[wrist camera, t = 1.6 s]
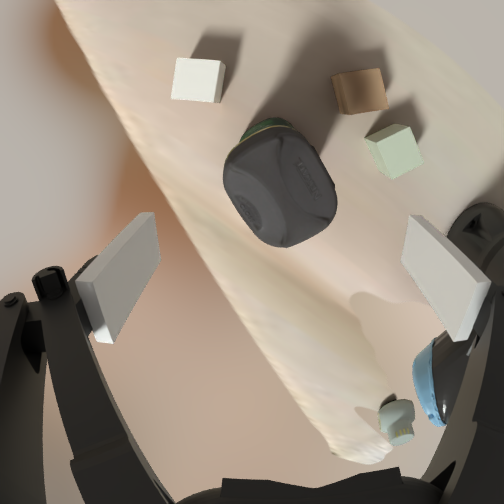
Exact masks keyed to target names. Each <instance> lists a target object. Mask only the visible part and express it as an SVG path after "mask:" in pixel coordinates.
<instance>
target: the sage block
mask: <svg viewBox="0 0 504 504" xmlns="http://www.w3.org/2000/svg"><path fill="white" fill-rule="evenodd" d="M364 139H365V141H366V143H367V146H368V148H369V150H370V152H371V154H372V156H373V159H374V161H375V163H376V165H377V168H378V170H379V171H380V172H381V173H383V174H384V175H386V176H387V177H389V178H390V179H392V180H393V179H395V178H396V177H398V176H400V175H402V174H404V173H406V172H408V171H410V170H412V169H414V168H416V167H418V166H420V165H422V164H424V161H423V159H422V156H421V153H420V151H419V148H418V146H417V143H416V140H415V138H414V136H413V133H412V131H411V128H410V127H409V126H405V125H400V124H395V123H394V124H392V125H390V126H388V127H386V128H384V129H382V130H380V131H378V132H376V133H374V134H372V135H369V136H367V137H365V138H364Z"/></svg>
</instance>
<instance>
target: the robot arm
mask: <svg viewBox="0 0 504 504" xmlns="http://www.w3.org/2000/svg"><path fill="white" fill-rule="evenodd" d="M160 261H161V257H160V250H159V244H158V237H157V230H156V223H155V216H154V212H145V213H140V214H139V215H138V216H137V217H135V219H133V221H132V222H130V223H129V224H128V225H127V226H126V227H125V228H124V229H123V230H122V231H121V232H120V233H119V234H118V235H117V236H116V237H115V239H113V240H112V242H111V243H110V244H109V245H108V246H107V247H106V248H105V249H104V250H103V251H102V252H101V253H100V254H99V255H96V256H95V257H93V258H91V259H90V260H88V261H87V262H86V263H85V264H84V265H83V266H82V268H80V269H79V270H78V272H77V273H76V274H75V275H74V276H73V277H72V278H71V279H70V280H69V281H68V282H67V279H66V276H65V273H64V269H63V268H62V267H59V266H51V267H48V268H45V269H42V270H41V271H39V272H38V273H36V274H35V275H34V276H33V278H32V283H33V286H34V288H35V291H36V294H37V296H38V299H39V301H36V302H30V303H27V301H26V298H25V296H24V294H23V293H21V292H14V293H10V294H8V295H6V296H5V297H4V298H3V299H2V300H1V301H0V504H46V495H45V485H44V471H43V447H42V446H43V443H42V432H43V431H42V430H43V429H42V426H43V401H44V386H45V385H44V384H45V374H46V365H47V359H48V364H49V369H50V374H51V379H52V383H53V388H54V392H55V395H56V400H57V403H58V407H59V411H60V414H61V418H62V421H63V424H64V428H65V431H66V434H67V437H68V440H69V443H70V446H71V449H72V452H73V455H74V459H73V460H70V466H71V470H72V473H73V476H74V478H75V481H76V483H77V486H78V488H79V490H80V493H81V495H82V498H83V500H84V502H85V504H504V211H503V210H502V209H500V208H498V207H497V206H495V205H493V204H490V203H480V204H476V205H474V206H472V207H470V208H468V209H467V210H466V211H465V212H463V213H462V214H461V215H460V216H459V218H458V219H457V220H456V221H455V223H454V224H453V226H452V228H451V229H450V231H449V234H448V236H447V237H445V236H444V235H443V234H442V233H441V232H440V231H439V230H438V229H437V228H435V227H434V226H433V225H432V224H431V223H430V222H429V221H427V220H426V219H425V218H424V217H423V216H422V215H409V221H408V226H407V232H406V237H405V242H404V247H403V252H402V257H401V261H400V262H401V263H402V264H403V266H404V267H405V269H406V270H407V271H408V273H409V274H410V276H411V277H412V279H413V280H414V281H415V283H416V284H417V286H418V287H419V289H420V290H421V292H422V293H423V295H424V296H425V298H426V299H427V301H428V302H429V304H430V305H431V307H432V308H433V310H434V311H435V313H436V314H437V316H438V318H439V319H440V321H441V322H442V324H443V325H444V327H445V329H446V330H445V331H444V332H443V333H442V334H441V335H439V336H438V337H436V338H434V339H433V340H432V342H431V343H430V344H429V345H428V346H427V347H426V348H425V349H424V350H422V351H421V352H420V353H419V354H418V355H417V356H416V358H415V360H414V362H413V371H412V374H413V381H414V386H415V389H416V393H417V396H418V398H419V401H420V403H421V406H422V408H423V410H424V412H425V413H426V414H427V415H428V417H429V420H430V421H431V422H432V423H433V424H434V425H435V426H437V427H440V426H445V425H446V424H447V426H446V429H445V431H444V434H443V436H442V438H441V441H440V443H439V445H438V448H437V450H436V452H435V454H434V456H433V458H432V460H431V463H430V465H429V467H428V468H427V470H426V472H425V474H424V475H423V476H422V478H421V479H416V478H412V477H405V476H401V473H400V469H399V467H395V468H390V469H384V470H379V471H373V472H367V473H360V474H357V475H355V476H352V477H349V478H347V479H344V480H341V481H338V482H336V483H332V484H329V485H326V486H323V487H319V488H308V487H302V486H296V485H290V484H285V483H280V482H275V481H271V480H250V479H229V478H223V479H222V487H220V488H213V489H209V490H205V491H202V492H199V493H196V494H193V495H191V496H189V497H186V498H184V499H183V500H181V501H179V502H177V503H175V501H174V500H173V499H172V497H171V496H170V494H169V493H168V492H167V490H166V489H165V488H164V486H163V485H162V483H161V482H160V480H159V479H158V477H157V476H156V474H155V473H154V471H153V469H152V468H151V466H150V465H149V463H148V461H147V460H146V458H145V456H144V455H143V453H142V451H141V449H140V448H139V446H138V444H137V442H136V441H135V439H134V437H133V435H132V433H131V431H130V429H129V428H128V426H127V424H126V422H125V420H124V418H123V416H122V414H121V412H120V410H119V408H118V406H117V404H116V402H115V400H114V398H113V395H112V393H111V391H110V389H109V387H108V384H107V382H106V380H105V378H104V375H103V373H102V371H101V368H100V366H99V363H98V361H97V358H96V356H95V353H94V351H93V348H92V346H91V343H90V341H89V338H88V336H89V334H90V333H91V331H93V333H94V336H95V338H96V340H97V342H104V343H112V344H114V342H115V340H116V338H117V336H118V334H119V333H120V331H121V329H122V327H123V325H124V323H125V322H126V320H127V318H128V316H129V314H130V313H131V311H132V309H133V307H134V306H135V304H136V302H137V300H138V299H139V297H140V295H141V293H142V292H143V290H144V288H145V287H146V285H147V283H148V281H149V279H150V278H151V276H152V275H153V273H154V271H155V270H156V268H157V266H158V264H159V263H160Z"/></svg>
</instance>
